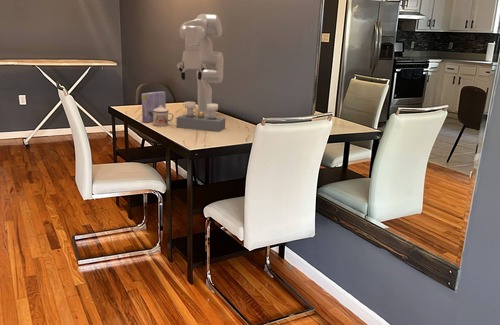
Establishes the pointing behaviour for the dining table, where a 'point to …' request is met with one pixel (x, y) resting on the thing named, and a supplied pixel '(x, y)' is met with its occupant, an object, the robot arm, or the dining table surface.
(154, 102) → the cake pan box
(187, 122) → the mount
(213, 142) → the dining table surface
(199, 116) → the brass ball
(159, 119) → the teacup with lid
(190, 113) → the ivory knob
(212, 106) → the ivory knob
